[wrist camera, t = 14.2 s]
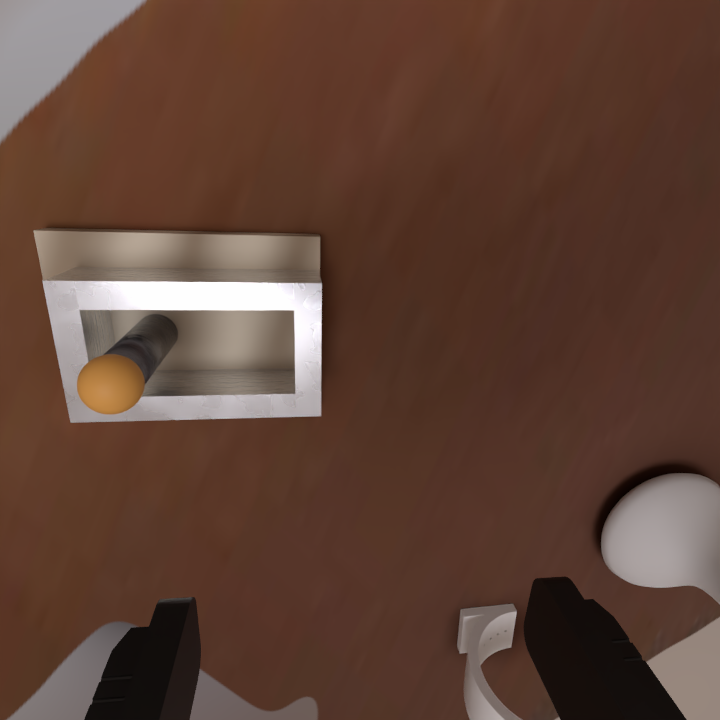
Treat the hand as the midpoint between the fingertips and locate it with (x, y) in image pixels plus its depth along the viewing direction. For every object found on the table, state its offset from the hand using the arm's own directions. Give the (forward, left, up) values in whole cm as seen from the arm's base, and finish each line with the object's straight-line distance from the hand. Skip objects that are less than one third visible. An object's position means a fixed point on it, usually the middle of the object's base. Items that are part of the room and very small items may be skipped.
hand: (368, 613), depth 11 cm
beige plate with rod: (+8, 0, -23) cm, 24 cm away
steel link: (+7, 0, -21) cm, 22 cm away
